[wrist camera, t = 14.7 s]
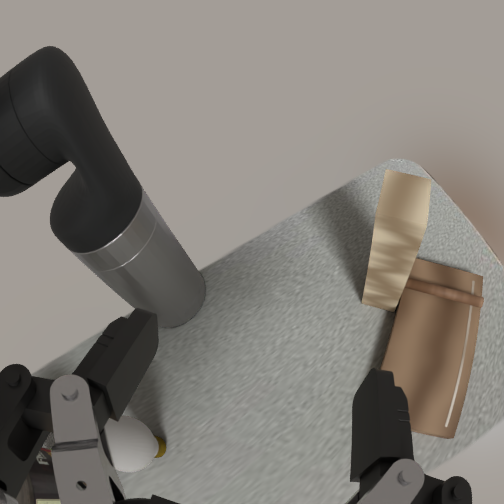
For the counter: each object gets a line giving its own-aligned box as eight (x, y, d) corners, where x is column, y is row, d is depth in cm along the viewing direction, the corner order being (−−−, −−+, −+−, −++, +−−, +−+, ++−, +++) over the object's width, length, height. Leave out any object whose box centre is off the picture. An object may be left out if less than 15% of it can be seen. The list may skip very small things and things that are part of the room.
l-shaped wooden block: (361, 303, 36) (375, 213, 23) (371, 267, 38) (386, 169, 25) (470, 332, 30) (537, 258, 17) (474, 294, 32) (531, 209, 19)
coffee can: (58, 444, 32) (-22, 424, 21) (116, 462, 30) (30, 454, 19) (55, 507, 27) (-24, 503, 15) (113, 532, 24) (30, 546, 13)
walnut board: (362, 418, 28) (364, 417, 27) (406, 265, 37) (409, 256, 35) (446, 438, 24) (453, 438, 23) (477, 284, 33) (483, 276, 31)
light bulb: (190, 461, 29) (144, 463, 21) (148, 476, 29) (94, 478, 21) (170, 416, 33) (122, 402, 25) (131, 432, 32) (77, 421, 24)
